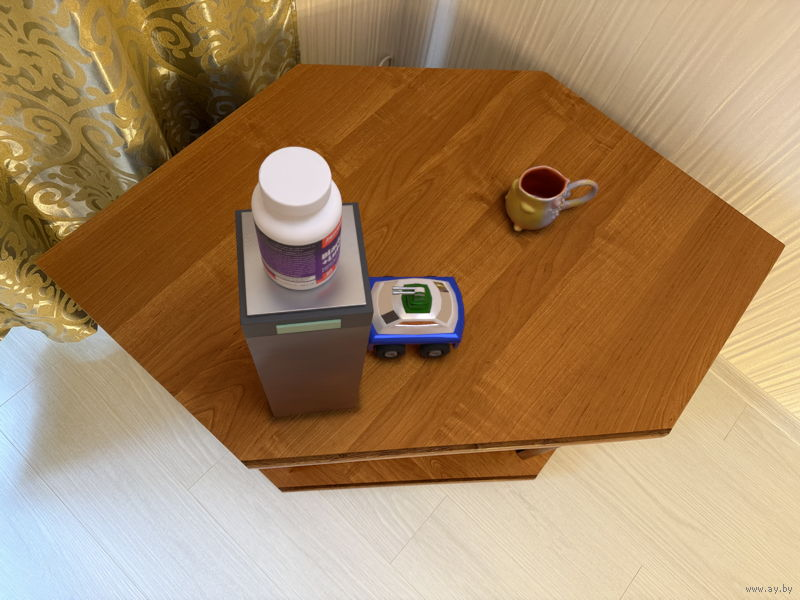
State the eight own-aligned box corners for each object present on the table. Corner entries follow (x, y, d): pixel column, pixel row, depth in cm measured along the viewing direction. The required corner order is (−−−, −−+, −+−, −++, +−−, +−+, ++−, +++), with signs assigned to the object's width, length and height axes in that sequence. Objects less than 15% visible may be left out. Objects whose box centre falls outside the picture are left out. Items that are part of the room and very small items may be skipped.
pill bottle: (337, 294, 41) (341, 220, 32) (258, 289, 40) (239, 213, 31) (342, 226, 43) (346, 139, 34) (266, 220, 42) (250, 131, 34)
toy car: (357, 287, 72) (361, 250, 64) (453, 286, 74) (470, 250, 65) (359, 360, 69) (364, 331, 60) (461, 357, 70) (480, 329, 62)
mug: (507, 235, 78) (522, 207, 72) (497, 190, 80) (511, 160, 74) (593, 230, 80) (615, 203, 74) (581, 187, 82) (601, 157, 76)
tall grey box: (274, 419, 65) (239, 325, 39) (268, 340, 68) (233, 206, 43) (356, 409, 66) (374, 312, 41) (346, 332, 70) (358, 198, 44)
